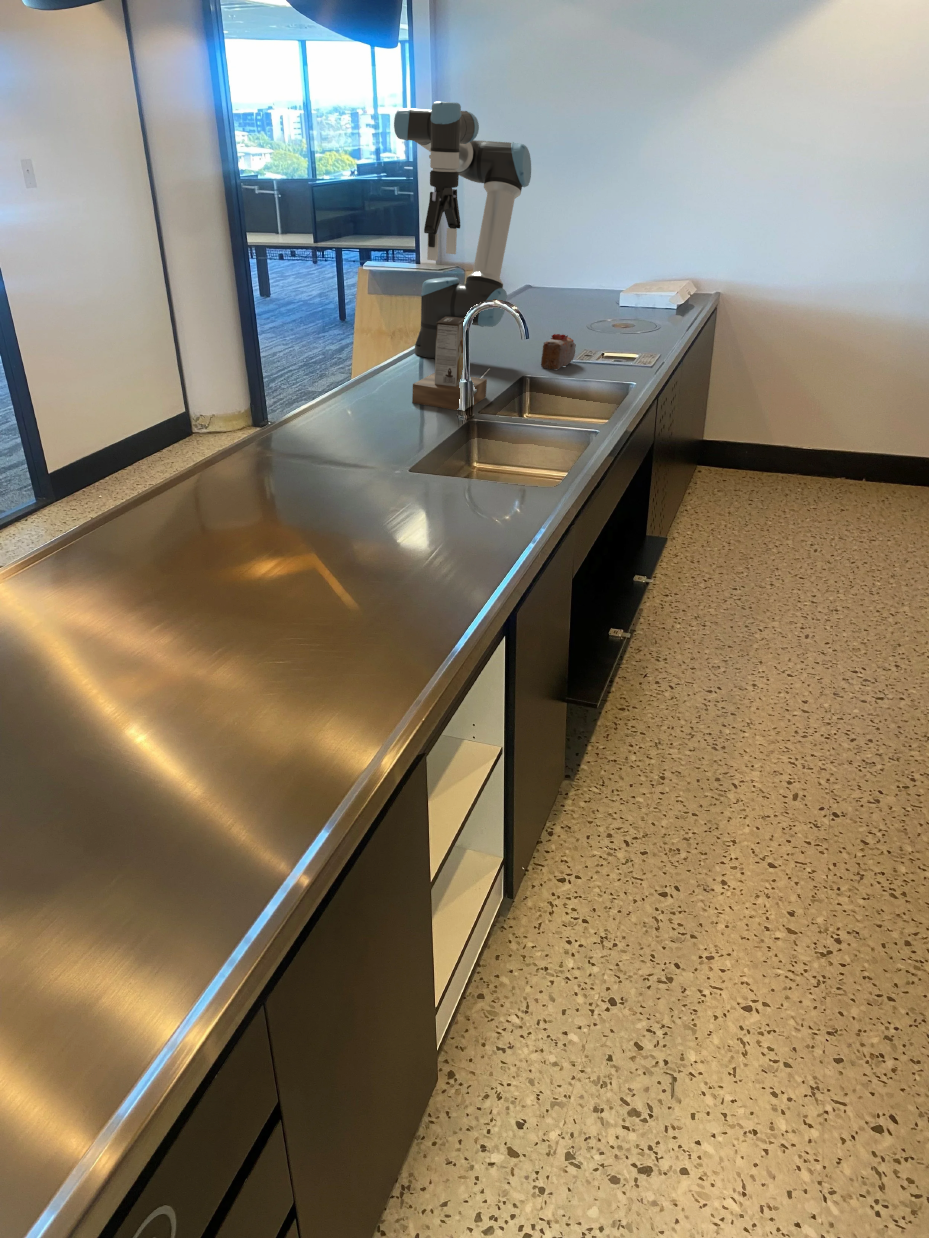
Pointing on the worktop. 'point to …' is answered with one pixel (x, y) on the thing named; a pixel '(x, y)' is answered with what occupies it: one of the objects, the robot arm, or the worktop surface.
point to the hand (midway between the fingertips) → (441, 257)
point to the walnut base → (444, 393)
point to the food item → (557, 352)
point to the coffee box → (449, 351)
